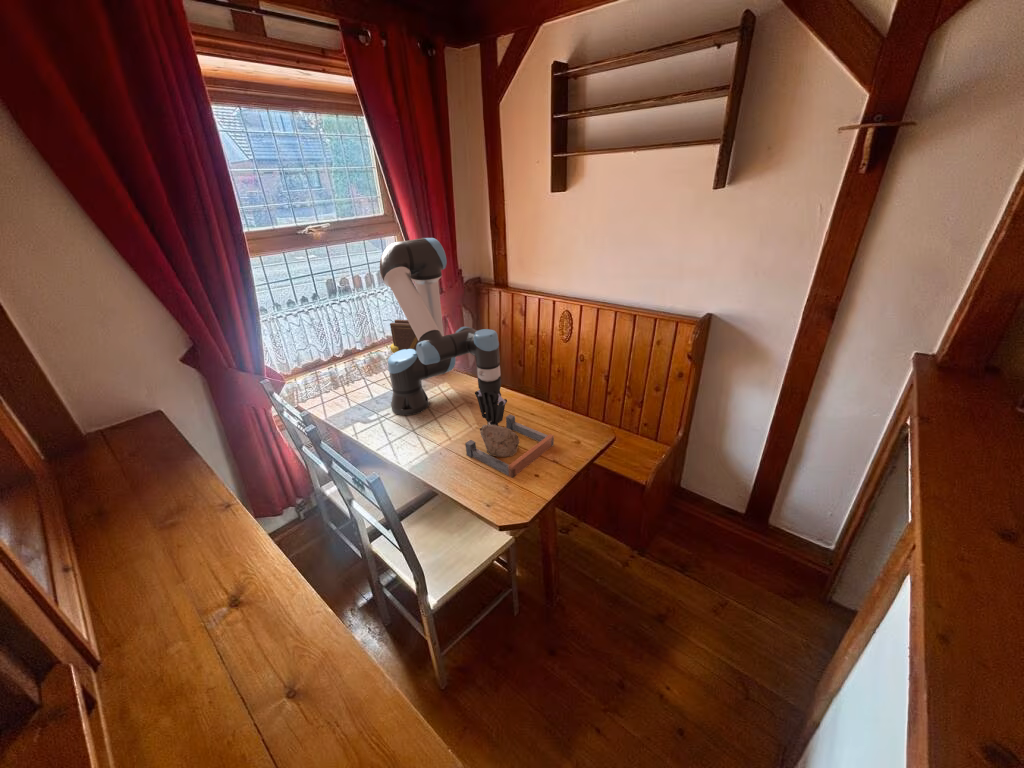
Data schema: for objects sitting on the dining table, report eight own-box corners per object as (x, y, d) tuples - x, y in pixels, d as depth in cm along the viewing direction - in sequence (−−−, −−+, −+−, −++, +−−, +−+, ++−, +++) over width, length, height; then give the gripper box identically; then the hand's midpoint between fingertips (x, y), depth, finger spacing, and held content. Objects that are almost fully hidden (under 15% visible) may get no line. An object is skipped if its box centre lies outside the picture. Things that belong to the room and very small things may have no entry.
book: (441, 369, 206) (435, 320, 195) (434, 377, 199) (427, 326, 188) (400, 366, 211) (391, 318, 200) (392, 374, 204) (382, 324, 193)
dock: (466, 455, 143) (465, 442, 141) (510, 425, 158) (510, 414, 156) (511, 478, 131) (510, 465, 129) (554, 444, 147) (554, 432, 144)
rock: (517, 423, 148) (523, 427, 140) (514, 451, 149) (519, 458, 141) (478, 420, 145) (481, 425, 137) (475, 449, 146) (478, 456, 138)
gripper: (466, 375, 139) (473, 435, 150) (496, 386, 132) (500, 448, 142) (482, 367, 144) (487, 426, 155) (511, 377, 137) (514, 438, 147)
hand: (493, 436), depth 149 cm, fingers closed
